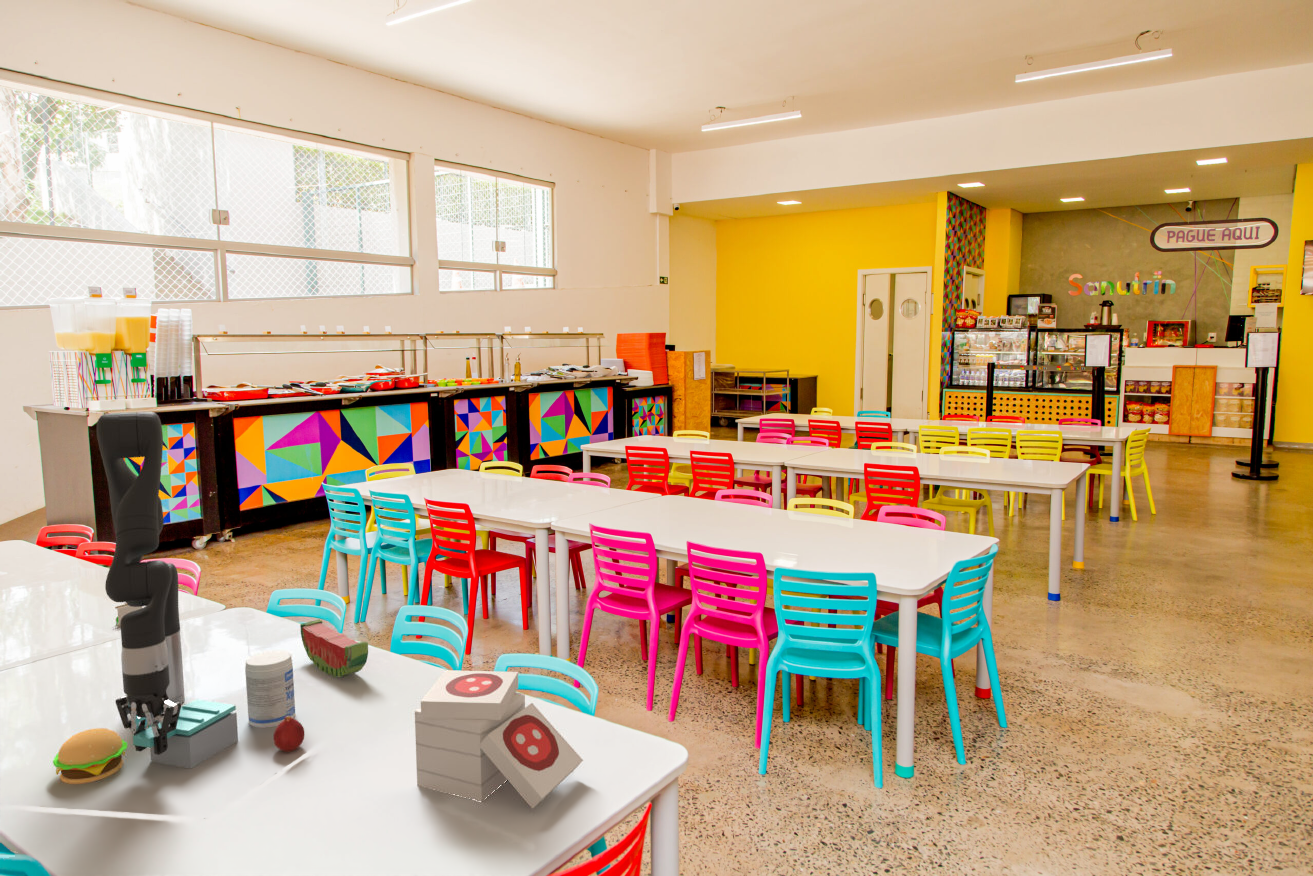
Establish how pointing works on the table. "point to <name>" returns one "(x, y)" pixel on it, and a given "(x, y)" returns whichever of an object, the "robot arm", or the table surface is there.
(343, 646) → the fruit slice
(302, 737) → the red round fruit
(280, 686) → the supplement tub
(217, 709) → the lid
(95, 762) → the hamburger
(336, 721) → the table surface
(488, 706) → the pizza boxes
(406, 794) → the table surface
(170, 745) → the tub
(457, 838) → the table surface
